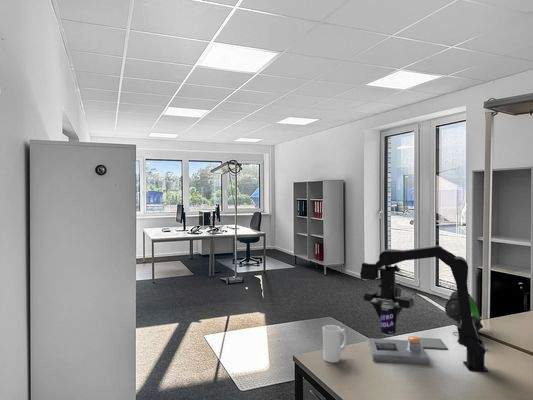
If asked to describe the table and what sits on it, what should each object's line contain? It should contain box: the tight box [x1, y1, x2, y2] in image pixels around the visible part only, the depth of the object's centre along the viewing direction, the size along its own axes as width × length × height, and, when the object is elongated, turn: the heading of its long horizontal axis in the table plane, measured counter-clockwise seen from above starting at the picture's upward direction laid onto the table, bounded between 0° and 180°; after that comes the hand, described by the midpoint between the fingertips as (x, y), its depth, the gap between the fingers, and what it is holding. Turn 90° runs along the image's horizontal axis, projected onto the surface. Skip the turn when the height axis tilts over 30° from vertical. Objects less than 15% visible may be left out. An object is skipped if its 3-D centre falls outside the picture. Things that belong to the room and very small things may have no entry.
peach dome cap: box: [407, 335, 421, 344], centre depth 147 cm, size 4×4×3 cm
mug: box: [322, 324, 348, 364], centre depth 144 cm, size 10×7×12 cm, turn 109°
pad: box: [419, 337, 449, 351], centre depth 157 cm, size 10×10×1 cm
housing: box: [368, 337, 430, 365], centre depth 148 cm, size 16×20×5 cm
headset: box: [444, 290, 484, 344], centre depth 167 cm, size 18×14×29 cm
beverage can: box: [380, 301, 397, 337], centre depth 149 cm, size 6×6×12 cm
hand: (388, 320), depth 149 cm, fingers closed on beverage can, 6 cm apart
